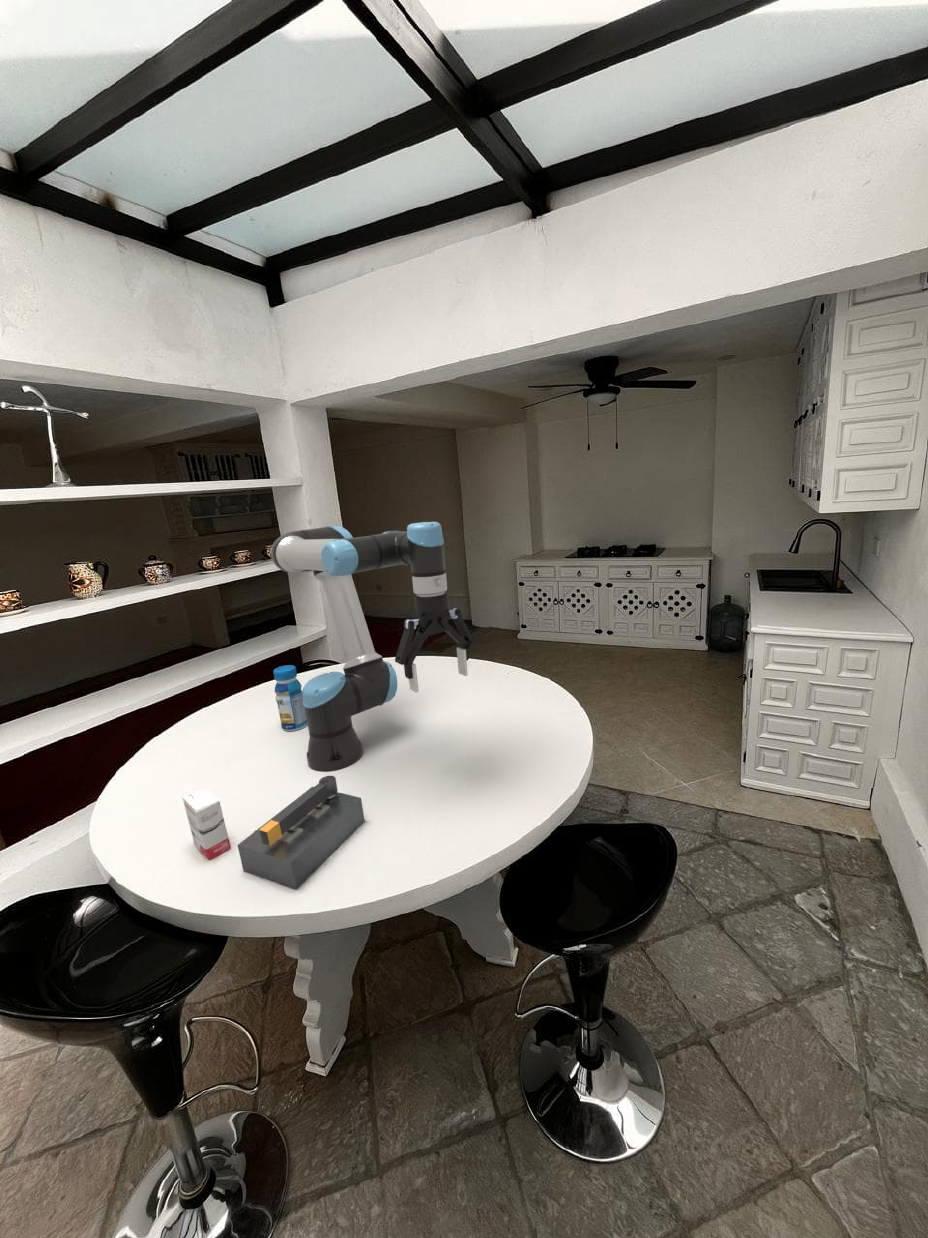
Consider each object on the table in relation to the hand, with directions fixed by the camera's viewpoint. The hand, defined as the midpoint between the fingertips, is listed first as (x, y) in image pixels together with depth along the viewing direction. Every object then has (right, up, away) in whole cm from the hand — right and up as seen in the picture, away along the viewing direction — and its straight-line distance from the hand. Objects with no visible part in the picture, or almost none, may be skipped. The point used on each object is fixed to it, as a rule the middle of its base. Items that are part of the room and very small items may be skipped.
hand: (439, 682), depth 117 cm
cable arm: (-28, -26, -13) cm, 40 cm away
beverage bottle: (-49, -20, +47) cm, 71 cm away
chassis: (-27, -33, -12) cm, 44 cm away
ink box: (-48, -34, -9) cm, 60 cm away
